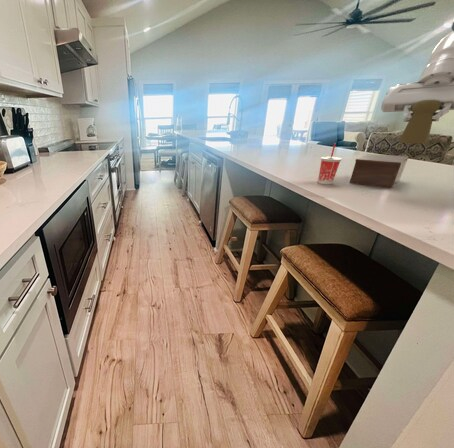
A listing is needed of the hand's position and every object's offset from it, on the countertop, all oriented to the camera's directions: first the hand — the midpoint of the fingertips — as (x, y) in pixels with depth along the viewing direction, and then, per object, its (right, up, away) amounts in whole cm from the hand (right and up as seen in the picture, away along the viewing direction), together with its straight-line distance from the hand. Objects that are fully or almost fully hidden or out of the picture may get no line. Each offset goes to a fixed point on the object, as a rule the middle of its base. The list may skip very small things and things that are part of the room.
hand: (420, 120), depth 67 cm
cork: (+1, -5, +3) cm, 6 cm away
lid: (+6, -6, +18) cm, 20 cm away
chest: (+6, -13, +21) cm, 26 cm away
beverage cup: (-11, -14, +23) cm, 29 cm away
